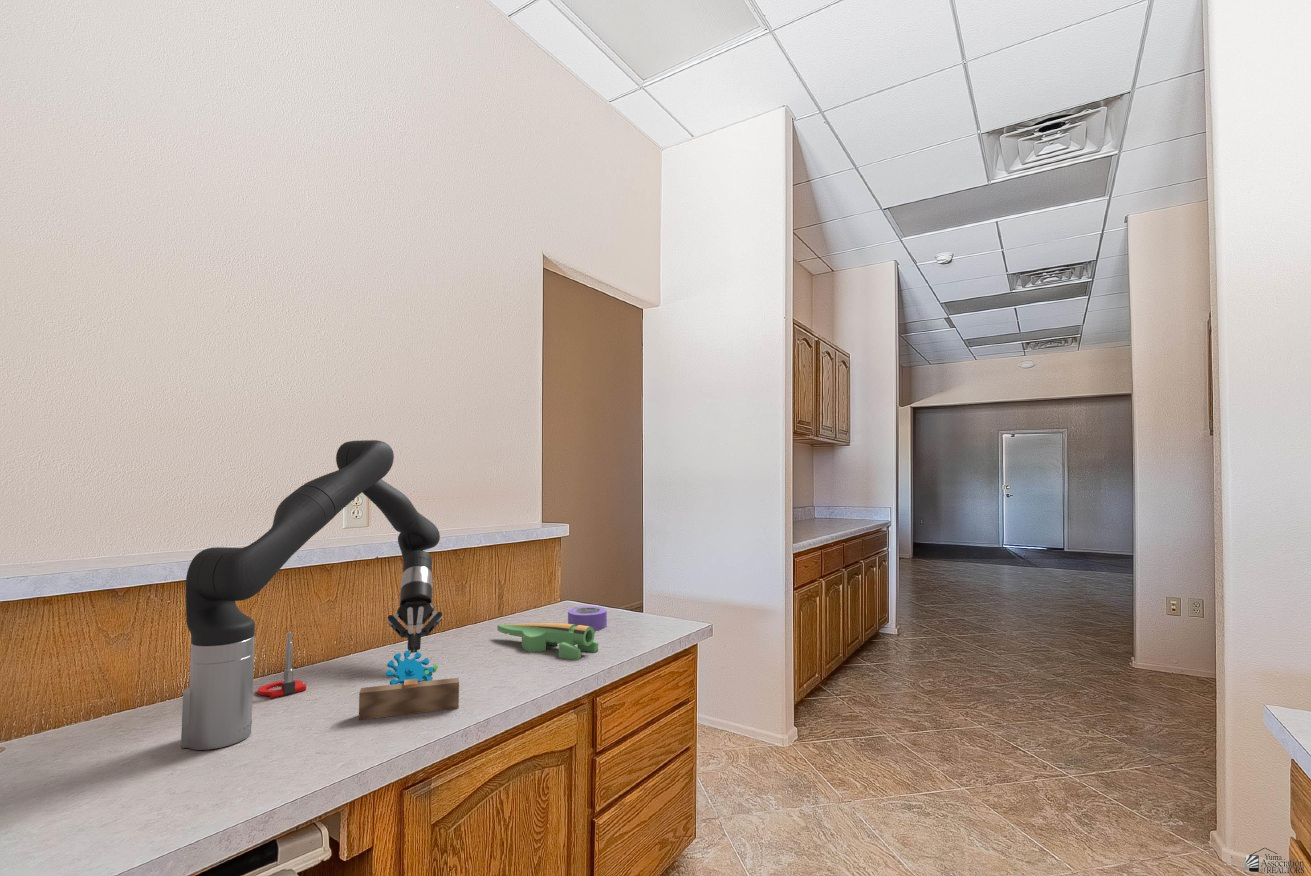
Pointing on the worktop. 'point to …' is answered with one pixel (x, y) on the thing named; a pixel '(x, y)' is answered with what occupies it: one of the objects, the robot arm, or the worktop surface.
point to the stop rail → (408, 698)
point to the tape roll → (588, 617)
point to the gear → (410, 669)
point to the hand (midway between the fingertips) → (414, 650)
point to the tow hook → (288, 684)
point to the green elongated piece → (554, 637)
